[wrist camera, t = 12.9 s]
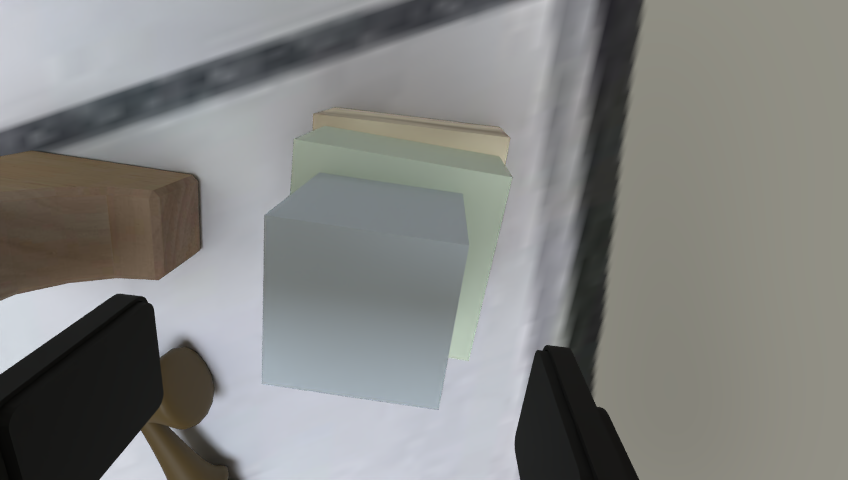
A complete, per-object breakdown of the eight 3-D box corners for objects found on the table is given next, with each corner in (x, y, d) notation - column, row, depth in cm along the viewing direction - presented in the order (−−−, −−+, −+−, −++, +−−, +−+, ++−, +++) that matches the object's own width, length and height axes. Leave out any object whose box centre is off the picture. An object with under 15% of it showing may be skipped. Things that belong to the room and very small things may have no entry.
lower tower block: (335, 106, 28) (312, 113, 23) (499, 126, 27) (510, 137, 23) (329, 257, 31) (308, 290, 26) (474, 275, 31) (479, 311, 26)
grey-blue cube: (319, 172, 19) (264, 215, 13) (462, 193, 19) (469, 245, 13) (311, 300, 21) (261, 384, 15) (440, 319, 21) (438, 410, 15)
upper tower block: (325, 125, 23) (293, 138, 18) (499, 156, 23) (512, 177, 18) (311, 283, 26) (281, 329, 21) (464, 309, 26) (468, 361, 22)
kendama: (196, 509, 40) (56, 329, 34) (293, 482, 39) (165, 288, 32) (159, 581, 35) (-18, 381, 28) (270, 551, 34) (111, 335, 27)
